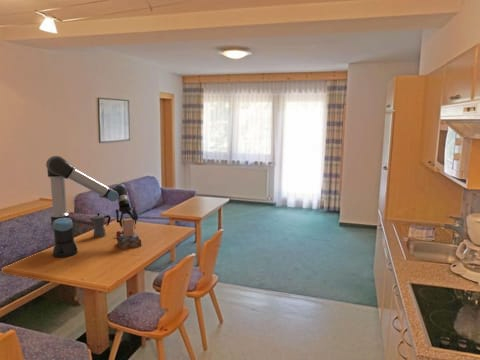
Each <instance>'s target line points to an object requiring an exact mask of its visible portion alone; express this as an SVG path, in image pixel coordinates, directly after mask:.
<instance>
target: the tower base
mask: <svg viewBox="0 0 480 360" xmlns="http://www.w3.org/2000/svg"><path fill="white" fill-rule="evenodd" d="M116 238H117V239H116V240H117V242H116V243H117V245H118V246H119V248H120V250H126V249H132V248H136V247H142V239H141V238H140V237H139V235H138V234H137V233H136V231H135V232H134V236H129V237H125V236H124V234H120V237H116Z"/></svg>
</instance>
